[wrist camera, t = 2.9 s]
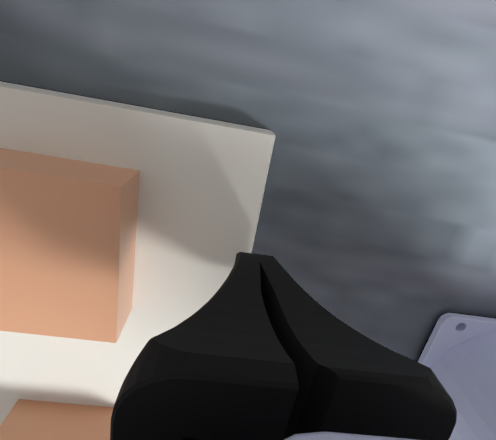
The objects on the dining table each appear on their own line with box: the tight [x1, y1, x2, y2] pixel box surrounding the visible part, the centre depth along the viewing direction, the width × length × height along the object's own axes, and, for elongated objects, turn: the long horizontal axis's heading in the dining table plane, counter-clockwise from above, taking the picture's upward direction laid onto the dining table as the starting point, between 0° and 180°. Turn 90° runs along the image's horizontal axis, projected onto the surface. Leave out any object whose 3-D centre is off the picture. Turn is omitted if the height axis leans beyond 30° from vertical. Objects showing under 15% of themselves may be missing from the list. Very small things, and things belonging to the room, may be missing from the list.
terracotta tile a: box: [0, 148, 140, 343], centre depth 11 cm, size 5×6×2 cm
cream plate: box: [0, 81, 275, 425], centre depth 15 cm, size 11×22×2 cm, turn 170°
